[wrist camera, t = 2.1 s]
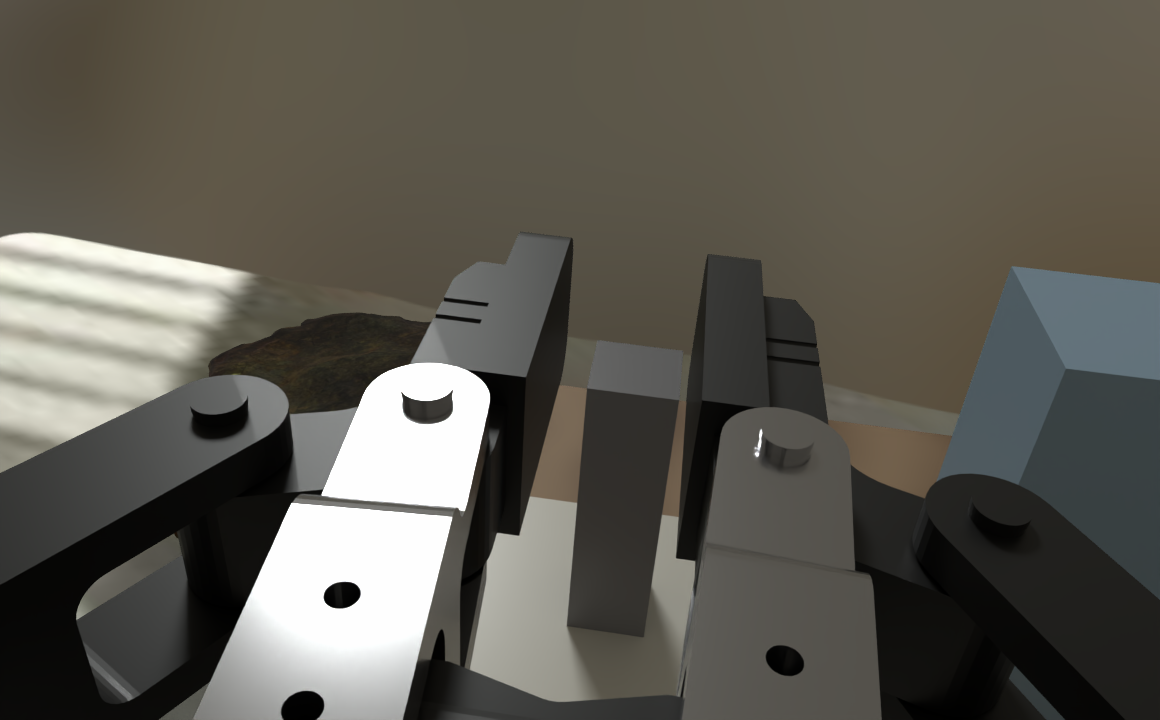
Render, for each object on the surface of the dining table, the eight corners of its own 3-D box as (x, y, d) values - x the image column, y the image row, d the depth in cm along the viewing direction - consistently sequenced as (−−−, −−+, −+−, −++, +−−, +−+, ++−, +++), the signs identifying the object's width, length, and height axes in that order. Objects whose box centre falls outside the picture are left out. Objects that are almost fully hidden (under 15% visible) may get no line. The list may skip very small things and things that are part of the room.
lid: (435, 715, 28) (429, 449, 23) (498, 508, 35) (504, 271, 30) (748, 765, 27) (818, 502, 22) (744, 543, 35) (795, 307, 29)
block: (899, 774, 30) (1065, 368, 21) (878, 646, 34) (1011, 266, 26) (1066, 800, 29) (1301, 397, 21) (1024, 668, 33) (1206, 288, 25)
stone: (310, 624, 34) (303, 562, 32) (46, 535, 37) (28, 474, 35) (506, 374, 48) (508, 324, 47) (306, 324, 51) (302, 274, 50)
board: (382, 961, 25) (377, 910, 23) (535, 427, 44) (537, 382, 43) (1235, 1112, 23) (1284, 1067, 22) (1007, 490, 42) (1025, 445, 41)
